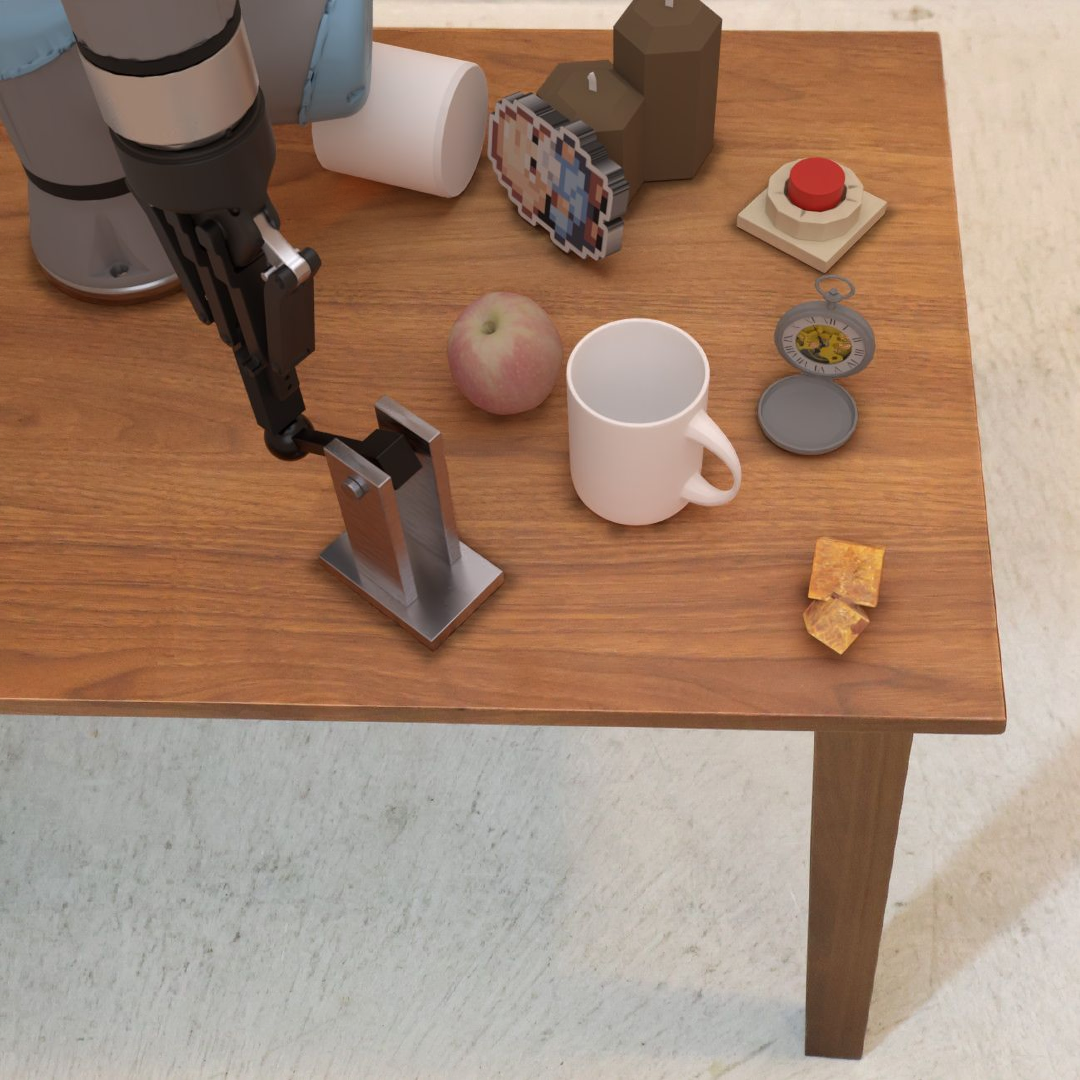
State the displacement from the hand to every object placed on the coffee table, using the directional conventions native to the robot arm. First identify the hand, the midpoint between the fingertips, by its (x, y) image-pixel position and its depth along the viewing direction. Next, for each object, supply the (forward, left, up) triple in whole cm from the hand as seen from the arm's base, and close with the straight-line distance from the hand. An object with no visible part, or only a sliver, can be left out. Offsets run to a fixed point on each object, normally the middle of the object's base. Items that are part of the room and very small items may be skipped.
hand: (281, 416), depth 86 cm
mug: (+18, +15, -9) cm, 25 cm away
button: (+11, +42, -6) cm, 44 cm away
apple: (+5, +15, -9) cm, 18 cm away
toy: (-4, +29, -8) cm, 30 cm away
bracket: (+10, 0, -8) cm, 13 cm away
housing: (+11, +42, -8) cm, 44 cm away
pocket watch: (+22, +27, -9) cm, 36 cm away
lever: (+6, 0, -1) cm, 6 cm away
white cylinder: (-12, +30, -4) cm, 33 cm away
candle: (-4, +39, -8) cm, 40 cm away
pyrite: (+31, +15, -9) cm, 36 cm away
